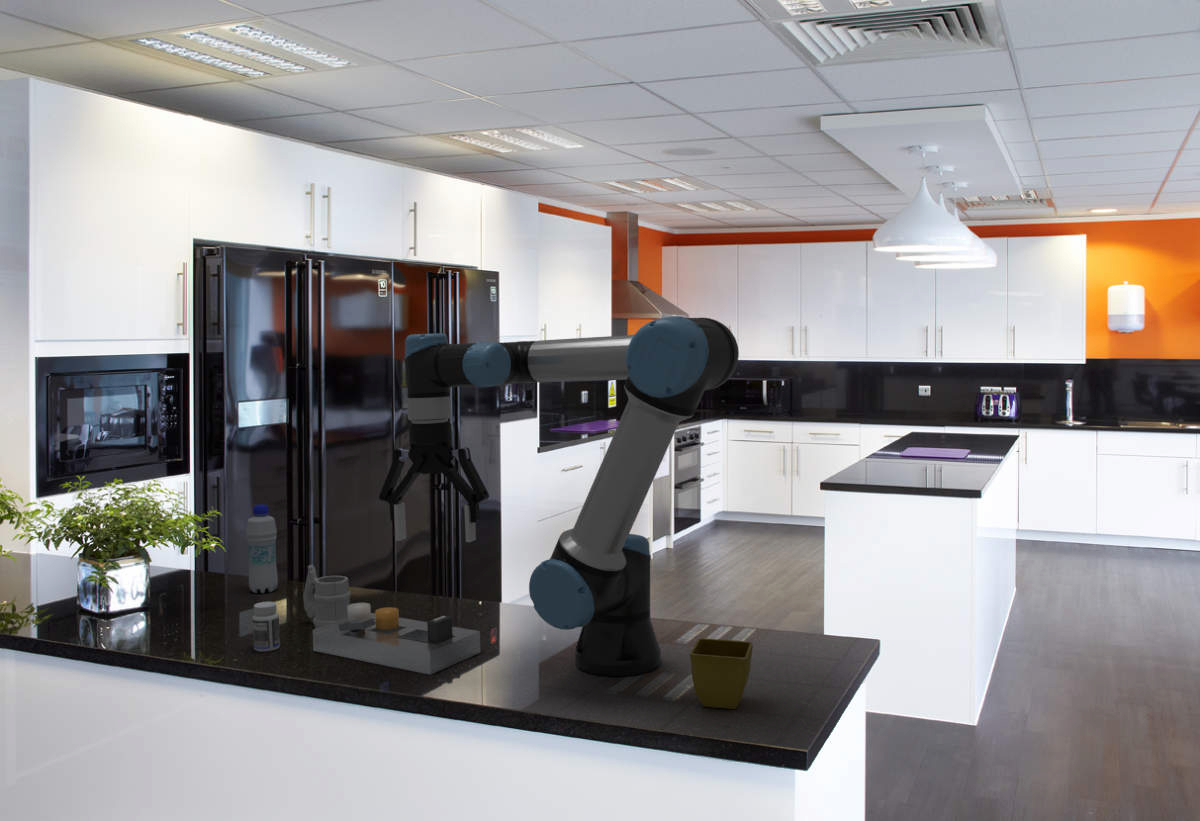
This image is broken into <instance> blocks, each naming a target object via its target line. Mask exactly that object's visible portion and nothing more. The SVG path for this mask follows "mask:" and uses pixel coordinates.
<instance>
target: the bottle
mask: <svg viewBox="0 0 1200 821" xmlns="http://www.w3.org/2000/svg"><path fill="white" fill-rule="evenodd" d="M252 511H253V513H252V514H253V515H252V516H251V517H250V518H248V519H247V522H246V532H245V536H246V541H247V542H248V544H247V545H248V566H249V567H248V585H249V589H250V592H252V593H254V594H258V592H259V591H260V594H265V591H266V589H267V592H268V593H272V592H274V591H276V590H277V588H278V585H279V584H278V583H279V582H278V581H279V580H278V579H279V578H278V570H277V568H278V567H277V554H276V553H277V550H276V548H277V544H276V540H277V533H278V531H277V530H278V529H277V526H276V520H275V517H273V516H271V515H269V513H270V512H269V511H270V510H269V506H268V505H266V504H257V505H254V506H253V508H252Z"/></svg>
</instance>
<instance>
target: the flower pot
mask: <svg viewBox="0 0 1200 821" xmlns="http://www.w3.org/2000/svg"><path fill="white" fill-rule="evenodd" d="M753 646H754V643H753V642H751V641H743V640H733V639H732V640H730V639H720V638H718V639H717V638H714V639H713V638H700V637H699V638H698V639H697V640H696V643H695V644H694V646H693V648H692V649H691V651H690V653H689V656H690V657H689V658H690V667H691V675H692V678H691V679H692V684H693V687H694V691H695V694H696V696H697V698H698V700H699V702H700V703H701V705H702V706H703V707H707V708H716V709H719V708H720V709H728V710H735V709H737V707H738V706H739V703H740V701H741V699H742V698H743V694H744V691H745V688H746V686H747V683H748V680H749V677H750V676H749V675H750V671H751V665H752V664H751V662H752V654H753Z"/></svg>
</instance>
